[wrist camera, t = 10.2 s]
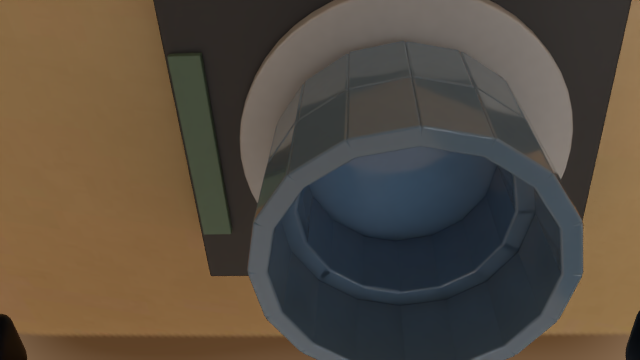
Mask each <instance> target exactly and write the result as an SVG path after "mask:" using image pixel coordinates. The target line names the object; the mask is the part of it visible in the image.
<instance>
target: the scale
mask: <svg viewBox="0 0 640 360" xmlns="http://www.w3.org/2000/svg"><path fill="white" fill-rule="evenodd" d="M153 1H154V6H155V11H156V16H157V20H158V25H159V30H160V35H161V40H162V44H163V49H164V54H165V59H166V64H167V68H168V73H169V78H170V83H171V88H172V92H173V97H174V102H175V107H176V112H177V116H178V121H179V126H180V131H181V136H182V140H183V145H184V150H185V155H186V160H187V164H188V169H189V174H190V179H191V184H192V188H193V193H194V198H195V203H196V207H197V212H198V217H199V222H200V227H201V231H202V236H203V241H204V246H205V251H206V255H207V260H208V265H209V270H210V275H211V276H249V275H248V271H247V266H248V258H249V250H250V242H251V234H252V226H253V221H254V216H255V212H256V208H257V204H258V200H259V195H260V191H261V187H262V183H263V178H264V174H265V170H266V166H267V162H268V158H269V154H270V149H271V145H272V141H273V137H274V133H275V128H276V125H277V123H278V120H279V119H280V117H281V115H282V114H283V112H284V111H285V109H286V108H287V106H288V105H289V103H290V102H291V100H292V99H293V97H294V96H295V94H296V93H297V91H298V90H299V88H300V86H301V85H302V84H304V83H305V81H306V80H307V79H309V78H310V77H312V76H313V75H315V74H316V73H318V72H319V71H321V70H322V69H324V68H325V67H327V66H329V65H330V64H332V63H333V62H335V61H336V60H338V59H339V58H341V57H342V56H344V55H345V54H349V52H351V51H355V50H360V49H365V48H370V47H374V46H379V45H384V44H389V43H394V42H399V41H405V42H407V41H410V42H415V43H421V44H427V45H433V46H438V47H444V48H450V49H456V50H459V51H460V52H464V53H466V54H467V55H469V56H471V57H472V58H474V59H475V60H477V61H478V62H480V63H481V64H483V65H484V66H486V67H487V68H489V69H490V70H492V71H493V72H495V73H497V74H498V75H500V76H501V77H503V79H504V80H506V81H507V83H508V84H509V86H510V88H511V90H512V91H513V93H514V95H515V96H516V98H517V100H518V101H519V103H520V105H521V106H522V108H523V110H524V111H525V113H526V115H527V116H528V118H529V120H530V122H531V124H532V126H533V127H534V129H535V131H536V133H537V135H538V137H539V139H540V141H541V143H542V145H543V146H544V148H545V150H546V152H547V154H548V156H549V158H550V160H551V162H552V163H553V165H554V167H555V169H556V171H557V173H558V175H559V177H560V179H561V181H562V182H563V184H564V186H565V188H566V190H567V192H568V194H569V196H570V198H571V200H572V201H573V203H574V205H575V207H576V209H577V211H578V213H579V215H580V217H581V219H582V221H583V216H584V212H585V207H586V203H587V198H588V194H589V189H590V185H591V180H592V176H593V171H594V167H595V162H596V158H597V153H598V149H599V144H600V140H601V135H602V131H603V126H604V122H605V117H606V113H607V108H608V104H609V99H610V95H611V90H612V86H613V81H614V77H615V72H616V68H617V63H618V59H619V54H620V50H621V45H622V41H623V36H624V32H625V27H626V23H627V19H628V14H629V10H630V5H631V1H632V0H153Z"/></svg>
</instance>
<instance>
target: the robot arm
mask: <svg viewBox="0 0 640 360" xmlns="http://www.w3.org/2000/svg"><path fill="white" fill-rule="evenodd" d="M0 360H27V354H26V350H25V348H24V345H23V343H22V341H21V339H20V337H19V335H18V333H17V330H16V328H15V326H14V324H13V322H12V320H11V318H9V317H8V316H7V315H4V314H0ZM626 360H640V311H639V312H638V314H637V316H636V319H635V322H634V325H633V328H632V331H631V334H630V337H629V340H628V343H627V347H626Z"/></svg>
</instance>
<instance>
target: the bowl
mask: <svg viewBox="0 0 640 360" xmlns="http://www.w3.org/2000/svg"><path fill="white" fill-rule="evenodd" d="M247 271H248V275H249V278H250V281H251V283H252V286H253V288H254V291H255V293H256V296H257V298H258V301H259V303H260V306H261V308H262V311H263V313H264V316H265V317H266V319H267V320H268V321H269V322H270V323H271V324H272V325H273V326H274V327H275V328H276V329H277V330H278V331H279V332H281V333H282V334H283V335H284V336H285V337H286V338H287V339H288V340H289V341H290V342H291V343H292V344H293V345H294V346H295V347H296V348H297V349H298V350H299V351H301V352H303V353H304V354H306V355H308V356H310V357H313V358H315V359H317V360H505V359H508V358H510V357H513V356H514V355H515V354H518V353H519V352H520V351H522V350H523V349H524V348H525V347H527V346H528V345H529V344H530V343H531V342H533V341H534V340H535V339H536V338H538V337H539V336H540V335H541V334H543V333H544V332H545V331H546V330H547V329H549V328H550V327H551V326H552V325H554V324H555V323H556V322H557V320H558V319H559V318H560V317H561V315H562V313H563V311H564V309H565V307H566V305H567V304H568V302H569V300H570V298H571V296H572V294H573V292H574V291H575V289H576V287H577V285H578V283H579V281H580V279H581V277H582V274H583V222H582V219H581V217H580V215H579V213H578V211H577V209H576V207H575V205H574V203H573V201H572V200H571V198H570V196H569V194H568V192H567V190H566V188H565V186H564V184H563V182H562V181H561V179H560V177H559V175H558V173H557V171H556V169H555V167H554V165H553V163H552V162H551V160H550V158H549V156H548V154H547V152H546V150H545V148H544V146H543V145H542V143H541V141H540V139H539V137H538V135H537V133H536V131H535V129H534V127H533V126H532V124H531V122H530V120H529V118H528V116H527V115H526V113H525V111H524V110H523V108H522V106H521V105H520V103H519V101H518V100H517V98H516V96H515V95H514V93H513V91H512V90H511V88H510V86H509V84H508V83H507V81H506V80H504V79H503V77H501V76H500V75H498V74H497V73H495V72H493V71H492V70H490V69H489V68H487V67H486V66H484V65H483V64H481V63H480V62H478V61H477V60H475V59H474V58H472V57H471V56H469V55H467V54H466V53H464V52H460V51H459V50H456V49H450V48H444V47H438V46H433V45H427V44H421V43H415V42H410V41H407V42H405V41H399V42H394V43H389V44H384V45H379V46H374V47H370V48H365V49H360V50H355V51H351V52H349V54H345V55H344V56H342V57H341V58H339V59H338V60H336V61H335V62H333V63H332V64H330V65H329V66H327V67H325V68H324V69H322V70H321V71H319V72H318V73H316V74H315V75H313V76H312V77H310V78H309V79H307V80H306V81H305V83H304V84H302V85H301V86H300V88H299V90H298V91H297V93H296V94H295V96H294V97H293V99H292V100H291V102H290V103H289V105H288V106H287V108H286V109H285V111H284V112H283V114H282V115H281V117H280V119H279V120H278V123H277V125H276V128H275V133H274V137H273V141H272V145H271V149H270V154H269V158H268V162H267V166H266V170H265V174H264V178H263V183H262V187H261V191H260V195H259V200H258V204H257V208H256V212H255V216H254V221H253V226H252V234H251V242H250V250H249V258H248V266H247Z"/></svg>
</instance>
